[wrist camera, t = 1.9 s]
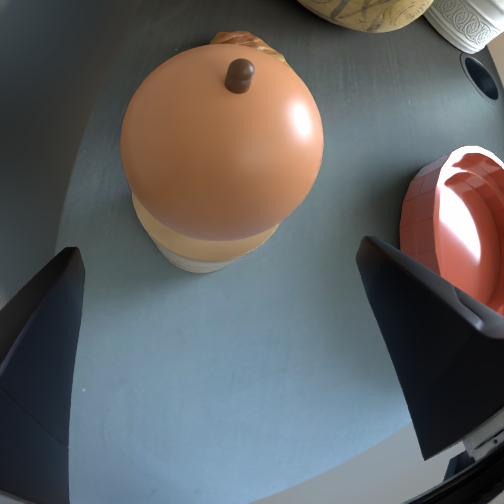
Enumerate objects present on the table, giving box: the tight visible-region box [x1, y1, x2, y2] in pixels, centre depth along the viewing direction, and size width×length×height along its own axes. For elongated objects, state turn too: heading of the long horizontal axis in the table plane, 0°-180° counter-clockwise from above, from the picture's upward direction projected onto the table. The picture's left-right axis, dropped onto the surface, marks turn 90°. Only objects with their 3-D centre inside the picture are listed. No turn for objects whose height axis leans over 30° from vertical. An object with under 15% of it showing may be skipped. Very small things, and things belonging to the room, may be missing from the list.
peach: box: [120, 44, 323, 241], centre depth 10 cm, size 6×6×8 cm
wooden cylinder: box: [131, 189, 280, 273], centre depth 18 cm, size 7×7×9 cm
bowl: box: [399, 146, 504, 317], centre depth 25 cm, size 18×18×5 cm
